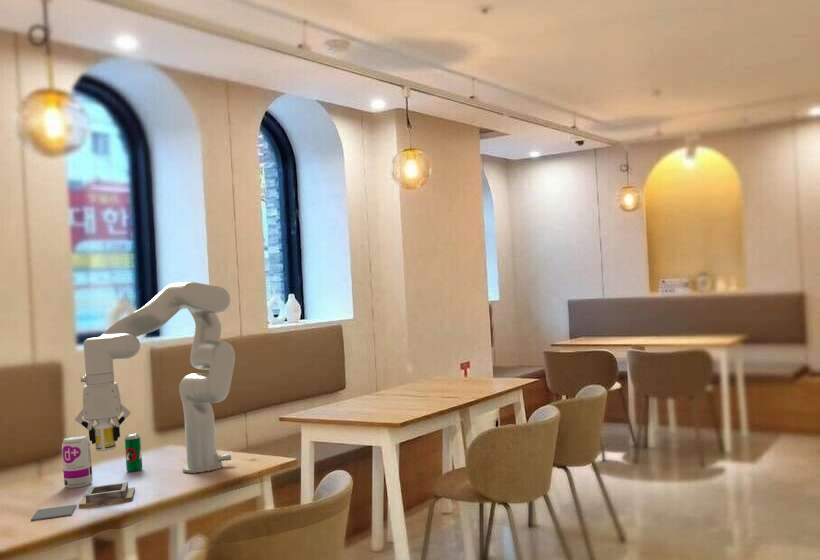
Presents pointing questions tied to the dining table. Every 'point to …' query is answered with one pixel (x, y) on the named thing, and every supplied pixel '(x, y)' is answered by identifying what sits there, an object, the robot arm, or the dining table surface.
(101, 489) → the block
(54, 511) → the mat
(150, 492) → the dining table surface
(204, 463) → the robot arm
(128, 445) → the soda can
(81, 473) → the supplement can
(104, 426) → the supplement bottle
